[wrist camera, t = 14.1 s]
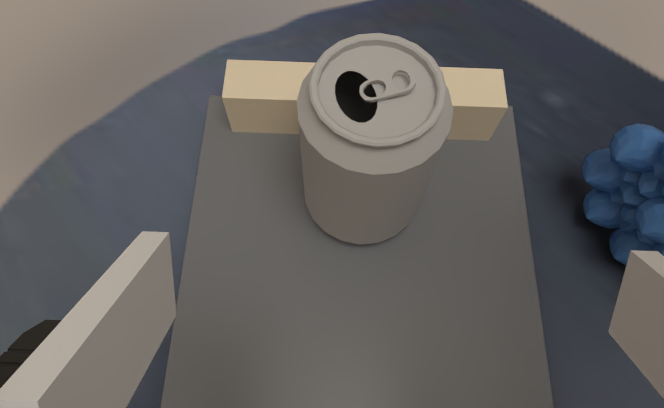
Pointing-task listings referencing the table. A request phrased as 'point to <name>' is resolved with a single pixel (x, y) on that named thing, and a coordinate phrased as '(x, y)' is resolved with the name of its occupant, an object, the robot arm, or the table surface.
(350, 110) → the can
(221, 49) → the table surface
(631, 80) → the table surface
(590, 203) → the grapes
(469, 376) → the stop plate
